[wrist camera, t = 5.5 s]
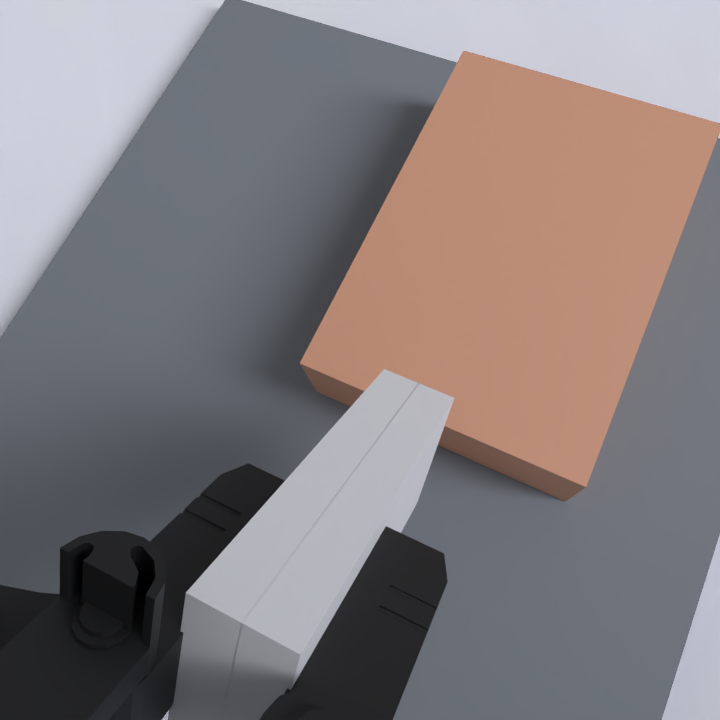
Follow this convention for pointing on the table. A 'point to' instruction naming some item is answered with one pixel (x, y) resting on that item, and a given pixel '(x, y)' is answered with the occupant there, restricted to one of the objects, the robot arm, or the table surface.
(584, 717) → the mat
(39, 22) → the table surface
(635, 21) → the table surface
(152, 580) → the robot arm
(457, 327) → the card deck
